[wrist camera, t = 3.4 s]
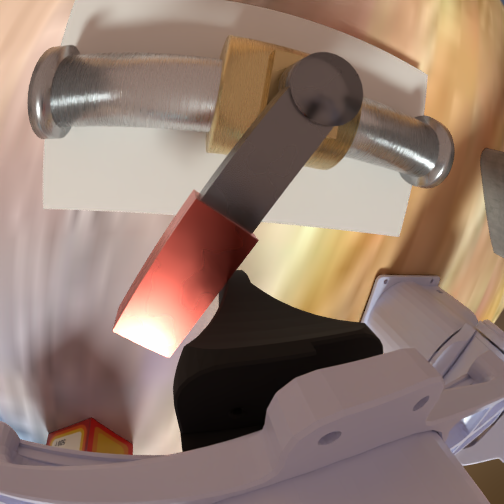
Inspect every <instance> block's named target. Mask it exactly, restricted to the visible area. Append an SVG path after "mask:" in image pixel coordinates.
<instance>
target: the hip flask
mask: <svg viewBox="0 0 504 504" xmlns="http://www.w3.org/2000/svg"><path fill="white" fill-rule="evenodd" d="M480 166H481V175H482V184H483V192H484V200H485V207H486V214H487V220H488V227H489V233H490V238H491V243H492V247H493V251H494V253H496V254H497V255H499V256H501V257H503V258H504V152H501V151H497V150H492V149H488V148H486V149H484V151H483V152H482V155H481V159H480Z"/></svg>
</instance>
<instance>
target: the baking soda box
mask: <svg viewBox="0 0 504 504" xmlns="http://www.w3.org/2000/svg"><path fill="white" fill-rule="evenodd" d="M46 445H48V446H54V447H59V448H65V449H72V450H79V451H87V452H97V453H108V454H123V455H133V444H132V443H130V442H128V441H127V440H125V439H123V438H122V437H120V436H118V435H117V434H115V433H114V432H112V431H111V430H109V429H108V428H106V427H105V426H103V425H102V424H100V423H99V422H97V421H96V420H95V419H93V418H89V419H87V420H84V421H82V422H79V423H76V424H74V425H71V426H68V427H66V428H63V429H60V430H58V431H55V432H52V433H49V434H48V439H47V443H46Z"/></svg>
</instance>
